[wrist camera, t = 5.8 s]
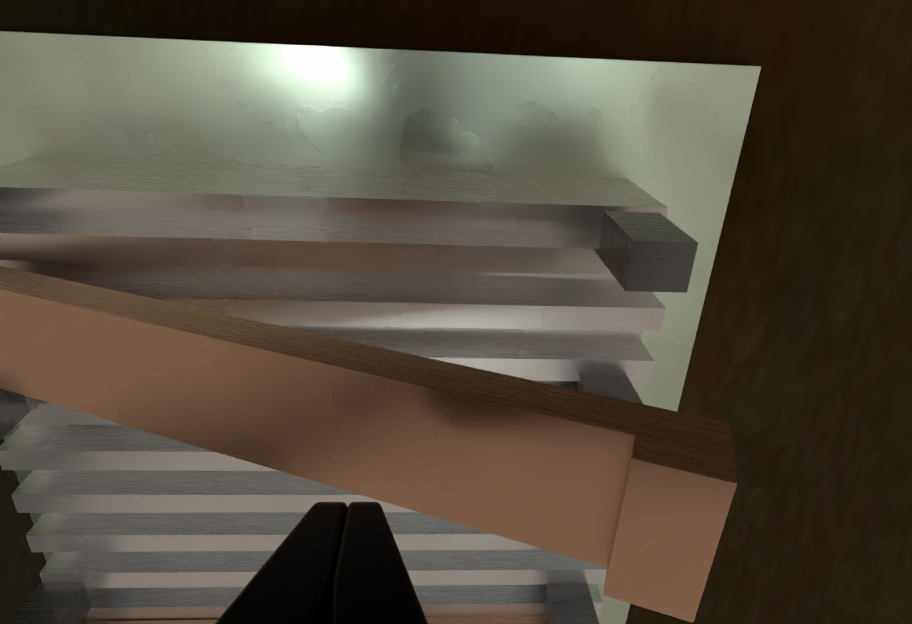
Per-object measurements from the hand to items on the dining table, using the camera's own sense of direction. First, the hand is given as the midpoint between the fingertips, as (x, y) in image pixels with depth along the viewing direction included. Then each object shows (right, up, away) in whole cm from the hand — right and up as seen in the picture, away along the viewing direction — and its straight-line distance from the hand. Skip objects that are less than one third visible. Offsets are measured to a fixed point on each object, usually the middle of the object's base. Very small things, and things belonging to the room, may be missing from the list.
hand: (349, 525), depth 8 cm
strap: (-2, +2, +3) cm, 4 cm away
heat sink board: (-2, 0, +12) cm, 12 cm away
